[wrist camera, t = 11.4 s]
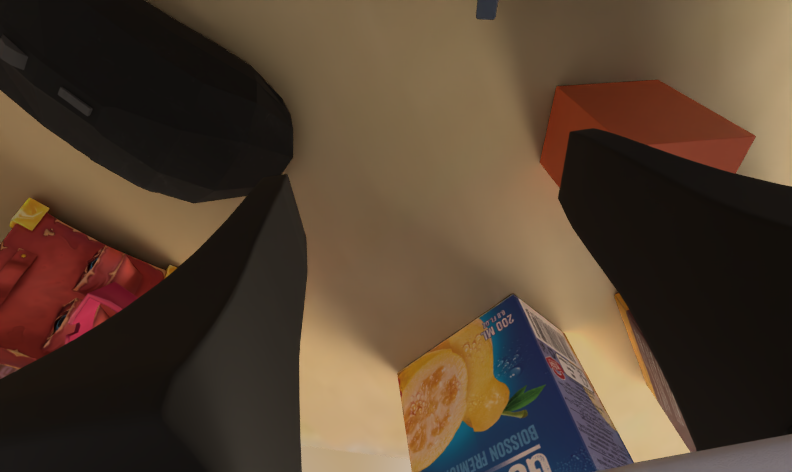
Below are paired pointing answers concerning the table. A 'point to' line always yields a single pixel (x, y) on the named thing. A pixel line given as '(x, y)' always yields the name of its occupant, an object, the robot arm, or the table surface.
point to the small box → (643, 123)
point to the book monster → (60, 285)
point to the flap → (486, 9)
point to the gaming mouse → (144, 96)
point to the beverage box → (506, 401)
